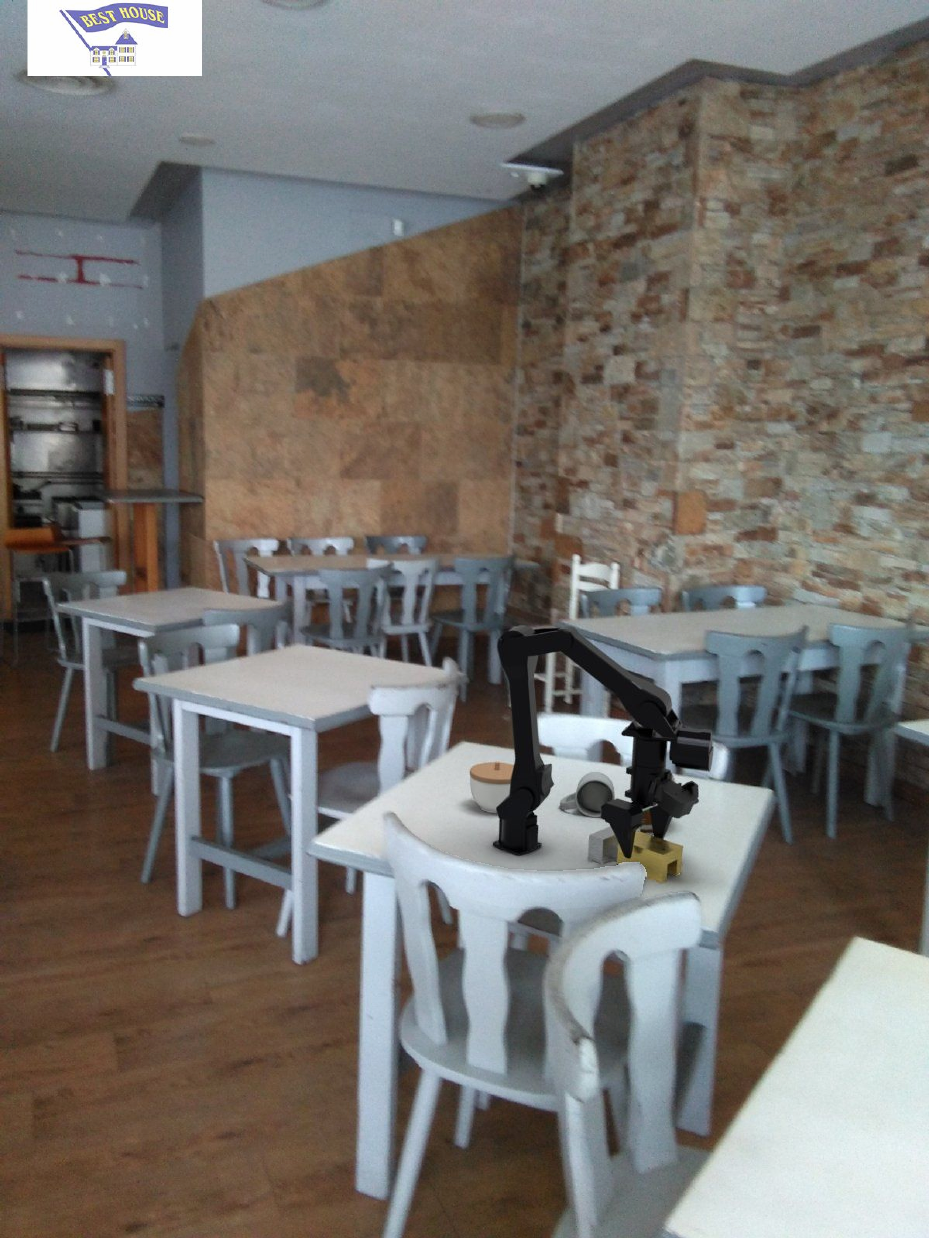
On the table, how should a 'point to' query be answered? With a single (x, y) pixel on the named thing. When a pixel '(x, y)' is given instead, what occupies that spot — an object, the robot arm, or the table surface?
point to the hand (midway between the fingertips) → (643, 850)
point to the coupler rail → (603, 846)
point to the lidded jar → (490, 784)
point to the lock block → (655, 856)
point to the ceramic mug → (590, 794)
